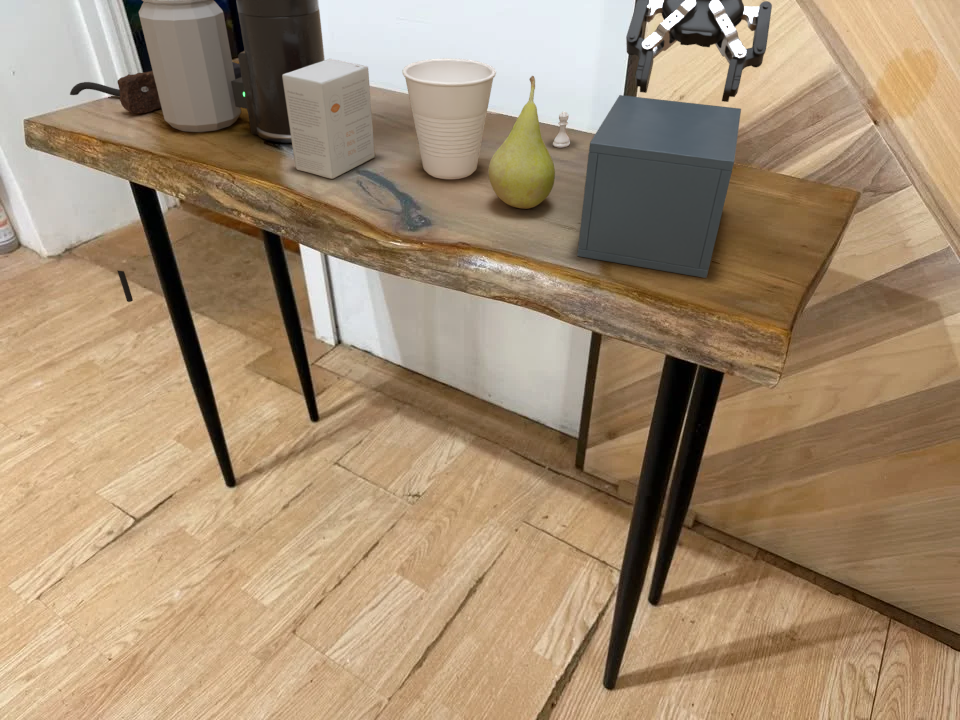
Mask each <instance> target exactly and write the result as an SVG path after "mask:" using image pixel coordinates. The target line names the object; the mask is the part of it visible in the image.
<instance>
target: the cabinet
mask: <svg viewBox="0 0 960 720" xmlns="http://www.w3.org/2000/svg"><path fill="white" fill-rule="evenodd" d="M741 113H742V108H739V107H731V106H730V107H729V106H722V105H721V106H720V105H713V104H703V103H694V102H687V101H686V102H684V101H677V100H676V101H675V100H666V99H659V98H649V97H640V96H632V95H624V94H620V95H618V97H617V98H616V100H615V101H614V103H613V105H612V106H611V108H610V110H609V112H608V113H607V114H606V116H605V118H604V119H603V121H602V122H601V124H600V126H599V128H598V129H597V131H596V132H595V133H594V136H593V137H592V139H591V140H590V142H589V146H588V155H587V163H586V164H587V165H586V173H585V174H586V175H585V183H584V191H583V201H582V209H581V217H580V218H581V220H580V227H579V236H578V237H579V238H578V246H577V247H578V248H577V255H576V256H577V257H580V258H586V259H592V260H597V261H602V262H603V261H604V262H610V263H616V264H621V265H626V266H634V267H639V268H645V269H651V270H657V271H662V272H668V273H673V274H678V275H679V274H680V275H684V276H685V275H686V276H691V277H698V278H703V279H707V278H708V274H709V270H710V265H711V261H712V257H713V253H714V249H715V244H716V240H717V236H718V232H719V228H720V225H721V224H720V223H721V219H722V217H723V216H722V215H723V211H724V208H725V202H726V199H727V194H728V190H729V186H730V181H731V178H732V173H733V169H734V165H735V159H736V152H737V144H738V136H739V129H740V121H741Z"/></svg>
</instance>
